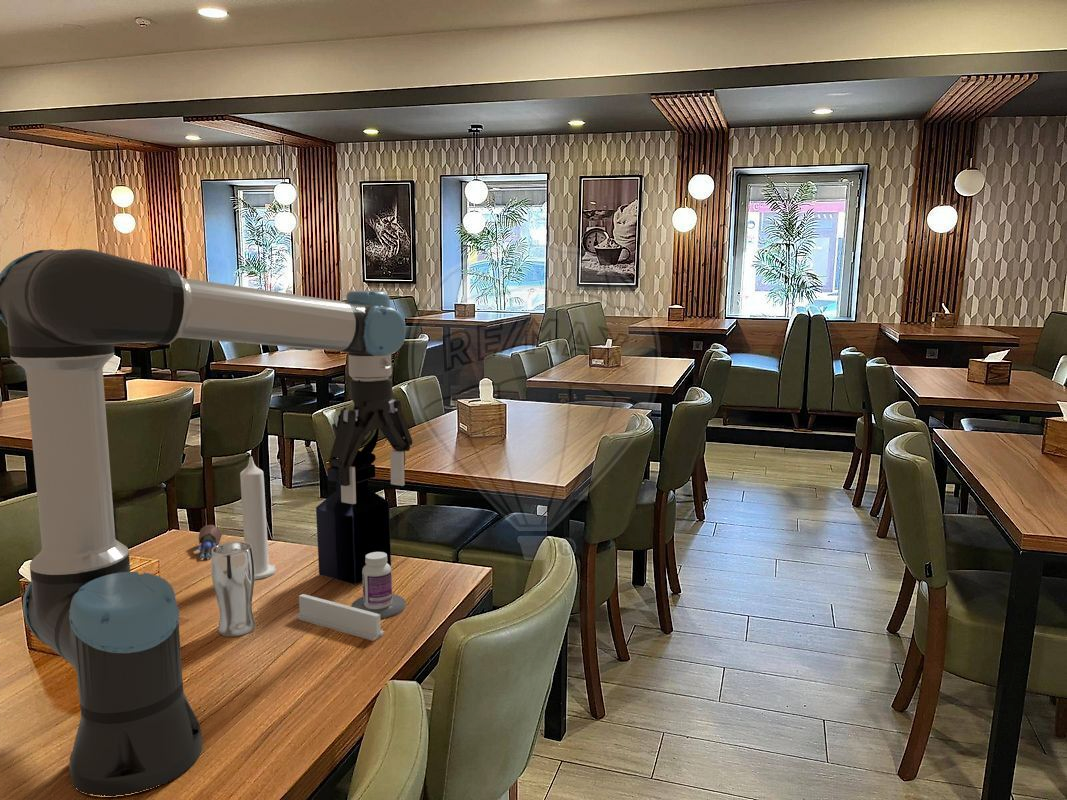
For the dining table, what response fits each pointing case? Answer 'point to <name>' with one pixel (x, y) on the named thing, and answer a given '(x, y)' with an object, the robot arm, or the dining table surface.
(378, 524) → the vase
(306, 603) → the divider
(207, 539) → the figurine
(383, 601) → the pill bottle
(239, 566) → the beer glass
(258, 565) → the candle
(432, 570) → the dining table surface
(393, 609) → the coaster
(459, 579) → the dining table surface
